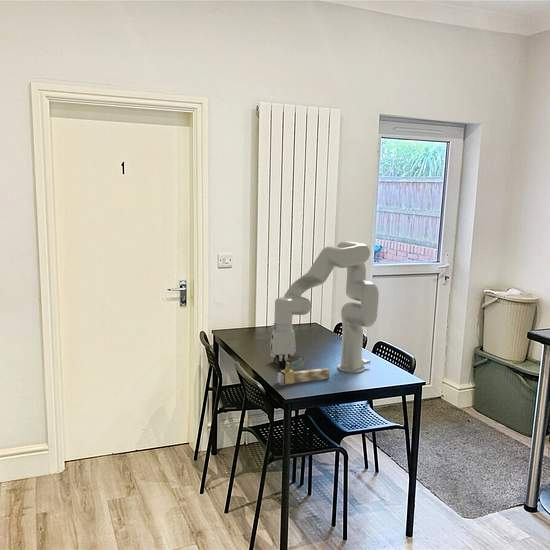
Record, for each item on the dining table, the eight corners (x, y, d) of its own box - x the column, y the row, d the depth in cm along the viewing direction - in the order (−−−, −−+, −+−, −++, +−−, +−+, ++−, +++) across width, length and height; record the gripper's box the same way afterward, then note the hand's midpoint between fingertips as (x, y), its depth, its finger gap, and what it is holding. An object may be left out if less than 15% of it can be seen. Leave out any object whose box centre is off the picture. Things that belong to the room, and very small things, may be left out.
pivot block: (286, 381, 236) (286, 371, 235) (289, 384, 233) (289, 374, 232) (277, 382, 234) (277, 372, 234) (280, 385, 231) (280, 375, 231)
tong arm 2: (327, 377, 242) (328, 368, 241) (329, 378, 241) (329, 369, 240) (290, 382, 235) (291, 373, 234) (292, 382, 234) (292, 374, 233)
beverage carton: (289, 374, 246) (290, 360, 245) (272, 362, 264) (272, 348, 263) (305, 372, 250) (306, 358, 249) (287, 360, 267) (287, 347, 266)
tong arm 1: (326, 376, 243) (327, 368, 242) (327, 377, 242) (328, 368, 241) (289, 380, 236) (289, 371, 236) (290, 381, 235) (290, 372, 234)
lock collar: (289, 379, 237) (289, 360, 236) (293, 383, 233) (294, 364, 231) (280, 380, 236) (281, 361, 234) (285, 384, 231) (285, 365, 230)
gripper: (270, 330, 223) (268, 373, 226) (303, 328, 229) (301, 370, 232) (263, 326, 230) (262, 368, 233) (295, 323, 236) (294, 364, 239)
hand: (281, 369), depth 232 cm, fingers closed
